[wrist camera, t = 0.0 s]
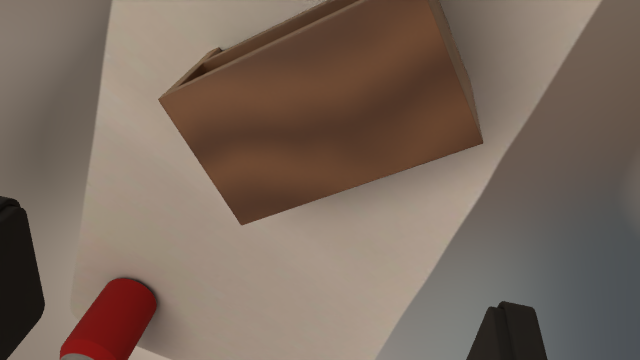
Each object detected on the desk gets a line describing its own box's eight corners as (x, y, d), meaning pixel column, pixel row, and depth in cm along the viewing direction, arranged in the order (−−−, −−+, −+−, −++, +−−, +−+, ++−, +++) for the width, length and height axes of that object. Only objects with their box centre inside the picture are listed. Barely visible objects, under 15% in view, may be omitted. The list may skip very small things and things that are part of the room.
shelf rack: (208, 52, 48) (157, 99, 39) (419, -52, 41) (418, -25, 32) (272, 160, 53) (241, 225, 44) (471, 84, 46) (483, 143, 37)
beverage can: (102, 300, 68) (46, 378, 58) (114, 265, 64) (56, 342, 54) (151, 322, 68) (104, 403, 58) (166, 289, 65) (118, 369, 55)
